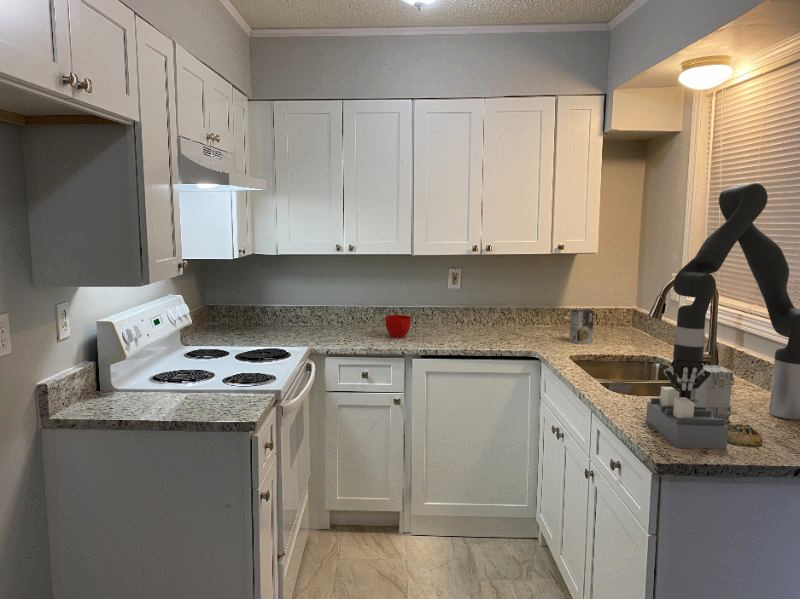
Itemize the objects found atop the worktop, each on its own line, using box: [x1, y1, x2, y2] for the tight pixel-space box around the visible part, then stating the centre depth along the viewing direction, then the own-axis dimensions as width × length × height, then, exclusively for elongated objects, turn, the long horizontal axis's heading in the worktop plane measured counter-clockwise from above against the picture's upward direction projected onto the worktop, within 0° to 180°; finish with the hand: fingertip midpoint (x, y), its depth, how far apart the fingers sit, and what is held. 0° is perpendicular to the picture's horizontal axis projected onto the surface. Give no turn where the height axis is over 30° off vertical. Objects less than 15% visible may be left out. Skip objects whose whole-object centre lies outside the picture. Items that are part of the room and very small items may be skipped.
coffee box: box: [569, 308, 595, 345], centre depth 280 cm, size 9×6×16 cm
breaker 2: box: [673, 397, 695, 418], centre depth 152 cm, size 3×5×5 cm, turn 178°
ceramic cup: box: [384, 314, 412, 339], centre depth 284 cm, size 13×17×10 cm
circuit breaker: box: [690, 364, 735, 422], centre depth 176 cm, size 8×14×15 cm, turn 2°
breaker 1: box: [659, 386, 679, 406], centre depth 162 cm, size 3×5×5 cm, turn 178°
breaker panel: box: [645, 397, 729, 450], centre depth 158 cm, size 13×20×8 cm, turn 178°
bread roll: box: [726, 423, 763, 447], centre depth 155 cm, size 11×11×5 cm
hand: (683, 402), depth 162 cm, fingers closed
